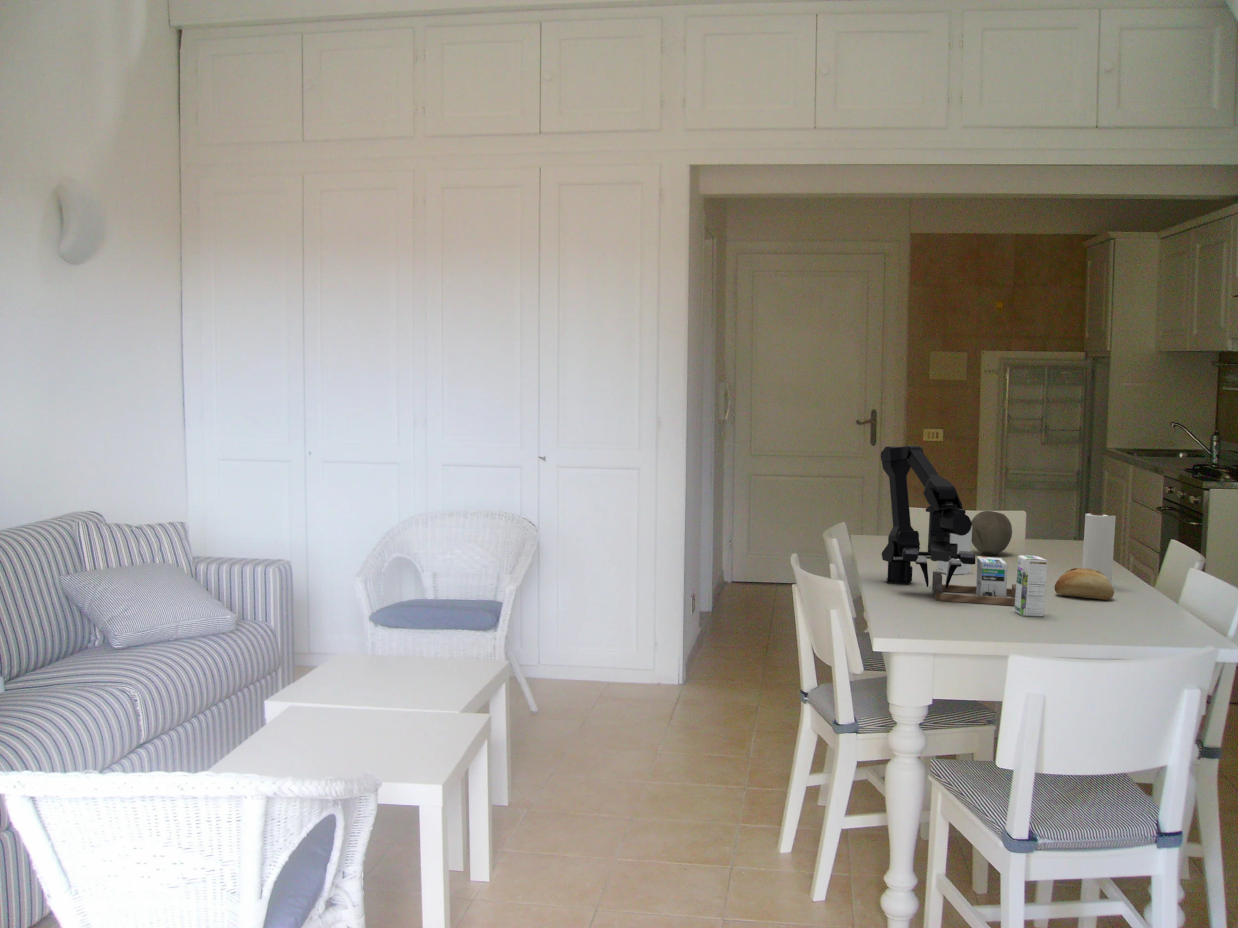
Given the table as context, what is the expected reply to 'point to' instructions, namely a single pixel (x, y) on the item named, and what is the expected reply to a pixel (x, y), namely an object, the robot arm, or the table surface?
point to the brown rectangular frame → (939, 587)
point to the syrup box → (1030, 585)
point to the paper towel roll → (1099, 543)
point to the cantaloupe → (991, 532)
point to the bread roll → (1084, 584)
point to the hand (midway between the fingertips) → (936, 587)
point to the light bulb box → (991, 577)
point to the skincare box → (963, 545)
